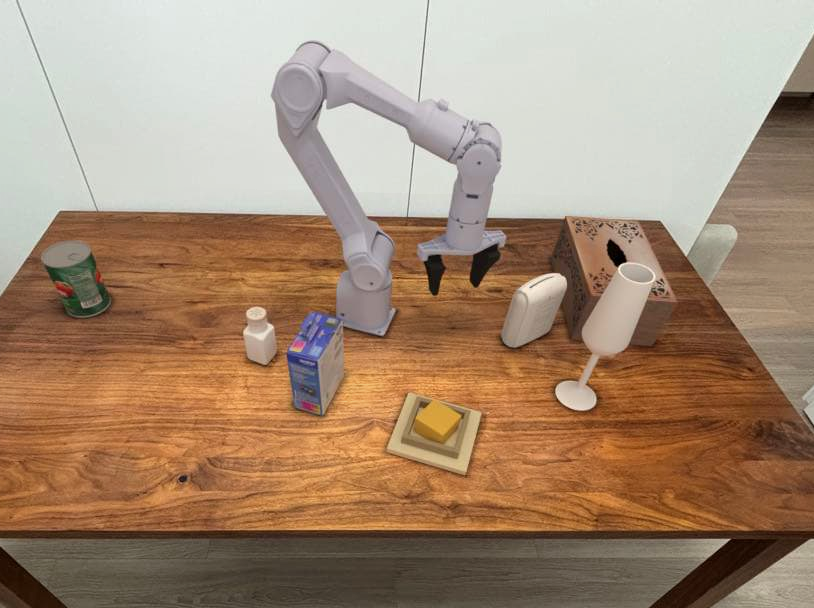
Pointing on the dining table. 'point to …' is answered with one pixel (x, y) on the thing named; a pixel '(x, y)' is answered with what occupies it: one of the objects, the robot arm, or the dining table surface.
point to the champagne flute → (609, 328)
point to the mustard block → (437, 422)
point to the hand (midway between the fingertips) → (453, 288)
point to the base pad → (432, 453)
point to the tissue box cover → (607, 272)
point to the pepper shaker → (259, 336)
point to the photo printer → (533, 309)
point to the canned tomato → (76, 278)
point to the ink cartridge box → (316, 362)
